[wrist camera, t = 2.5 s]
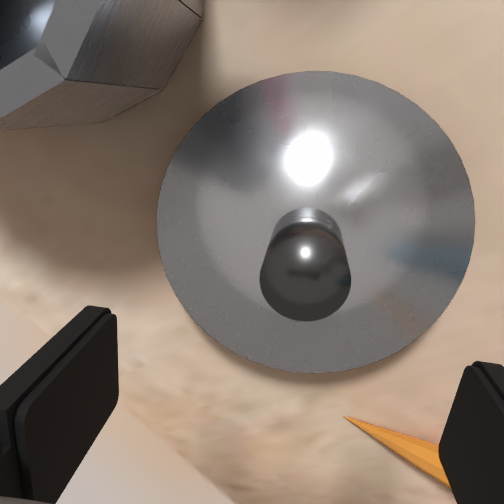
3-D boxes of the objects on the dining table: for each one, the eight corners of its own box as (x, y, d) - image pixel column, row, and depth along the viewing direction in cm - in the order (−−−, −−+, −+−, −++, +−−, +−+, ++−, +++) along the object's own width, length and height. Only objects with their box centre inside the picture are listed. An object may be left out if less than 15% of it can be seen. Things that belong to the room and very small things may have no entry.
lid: (495, 89, 19) (602, 77, 12) (418, 366, 25) (461, 469, 18) (174, 63, 21) (103, 40, 14) (170, 328, 26) (118, 408, 19)
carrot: (621, 504, 27) (688, 551, 23) (594, 564, 27) (656, 623, 23) (350, 376, 29) (363, 396, 24) (325, 432, 29) (332, 463, 24)
